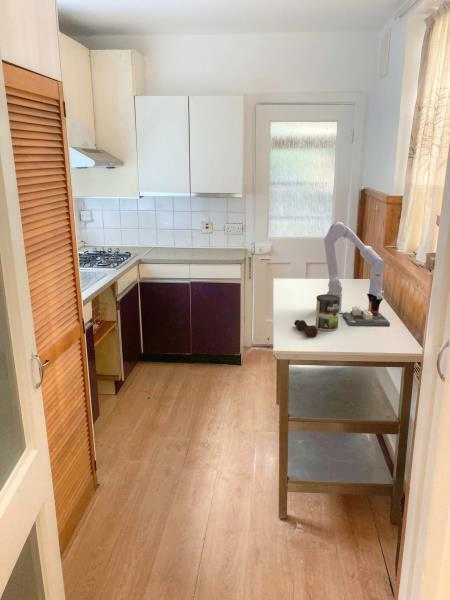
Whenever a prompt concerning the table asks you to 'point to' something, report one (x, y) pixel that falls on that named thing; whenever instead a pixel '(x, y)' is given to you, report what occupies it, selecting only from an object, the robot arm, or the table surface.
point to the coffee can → (327, 312)
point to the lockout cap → (371, 308)
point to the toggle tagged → (367, 315)
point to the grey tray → (360, 321)
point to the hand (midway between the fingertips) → (373, 309)
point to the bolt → (306, 328)
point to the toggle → (356, 310)
